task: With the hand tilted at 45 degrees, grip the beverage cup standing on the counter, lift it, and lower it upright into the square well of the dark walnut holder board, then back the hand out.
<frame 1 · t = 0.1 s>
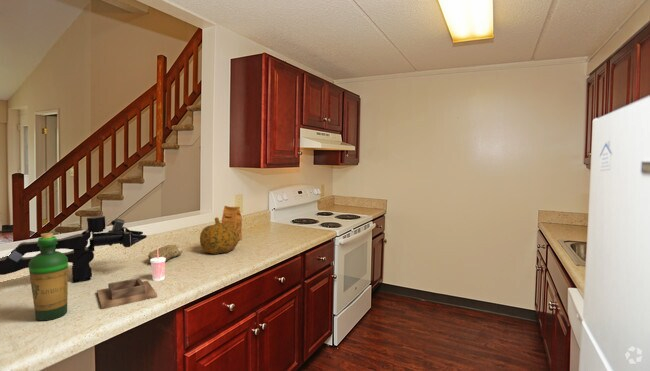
hand: (144, 234, 168), 17 cm above the counter, tool horizontal, fingers open, 9 cm apart
cup holder: (126, 295, 138), on the counter
tan rounded lump: (164, 260, 184), on the counter
bottle: (51, 316, 120), on the counter
beverage cup: (158, 279, 156), on the counter
decorative pumpkin: (219, 251, 201), on the counter
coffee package: (231, 240, 228), on the counter
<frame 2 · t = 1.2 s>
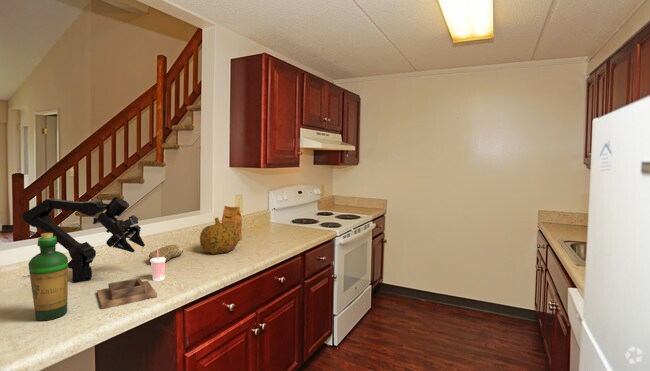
hand: (139, 248, 154), 14 cm above the counter, tool tilted 45°, fingers open, 9 cm apart
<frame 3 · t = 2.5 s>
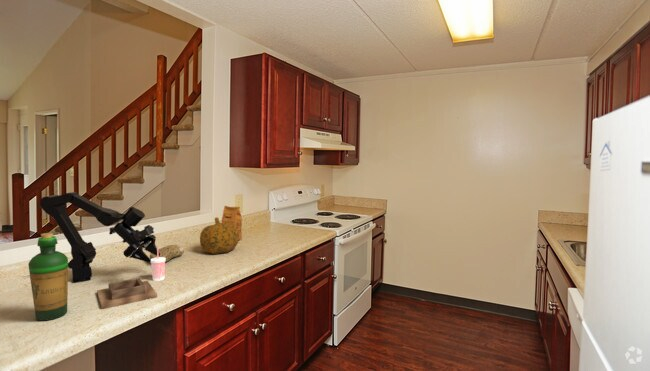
hand: (155, 258, 155), 9 cm above the counter, tool tilted 45°, fingers open, 9 cm apart
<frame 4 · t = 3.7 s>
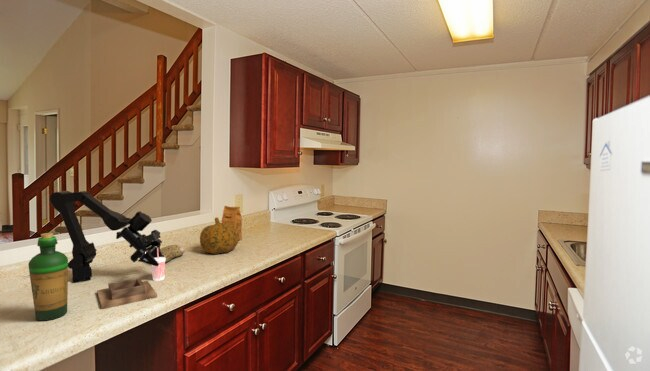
hand: (161, 263, 155), 7 cm above the counter, tool tilted 45°, fingers closed on beverage cup, 6 cm apart
beverage cup: (158, 279, 156), on the counter, touching gripper
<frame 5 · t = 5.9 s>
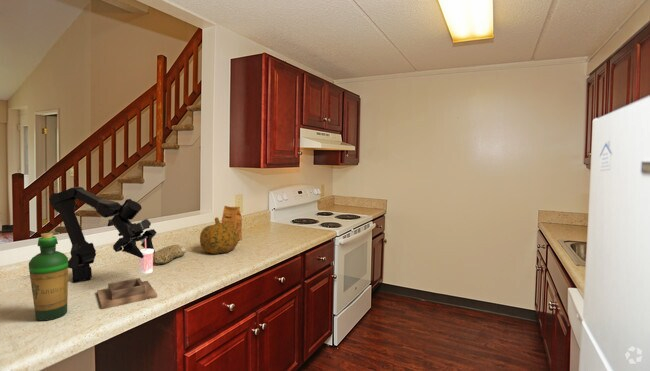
hand: (148, 255, 145), 13 cm above the counter, tool tilted 45°, fingers closed on beverage cup, 6 cm apart
beverage cup: (146, 272, 146), point 6 cm above the counter, touching gripper
when the fingers open (9 cm above the counter, at t = 8.0 s): beverage cup drops 1 cm, resting on cup holder.
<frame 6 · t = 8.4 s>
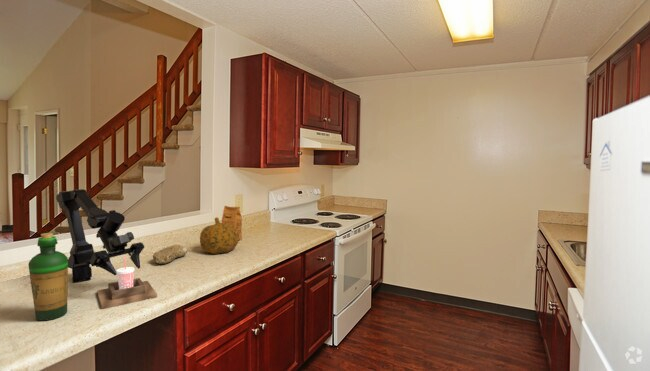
hand: (128, 271, 136), 10 cm above the counter, tool tilted 45°, fingers open, 9 cm apart
beverage cup: (126, 292, 138), point 1 cm above the counter, touching cup holder
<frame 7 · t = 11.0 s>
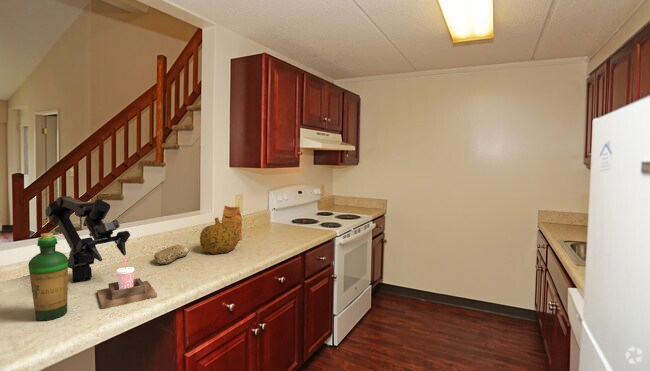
hand: (113, 257, 140), 14 cm above the counter, tool tilted 45°, fingers open, 9 cm apart
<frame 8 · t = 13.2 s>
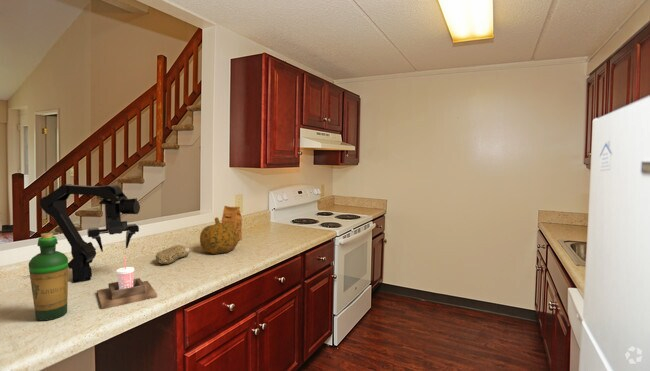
hand: (114, 249, 154), 13 cm above the counter, tool pointing down, fingers open, 9 cm apart
at the end: beverage cup 0.2 cm off-centre on the cup holder, point 1.0 cm above the cup holder's base; beverage cup tilted 0°; the gripper is holding nothing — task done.
